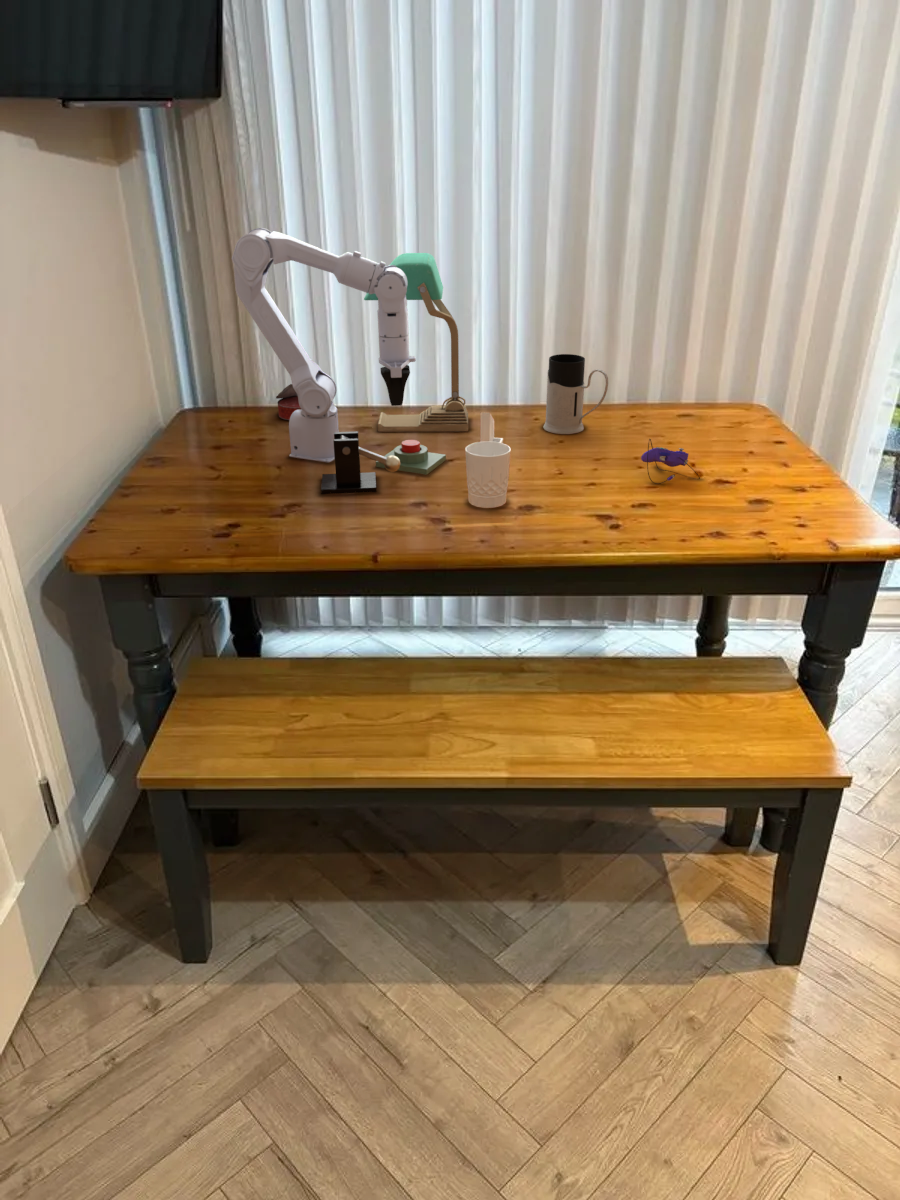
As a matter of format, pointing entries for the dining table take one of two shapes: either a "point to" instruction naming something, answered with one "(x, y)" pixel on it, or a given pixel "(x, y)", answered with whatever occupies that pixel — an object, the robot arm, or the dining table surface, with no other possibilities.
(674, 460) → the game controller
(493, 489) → the white cup
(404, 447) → the button
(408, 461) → the switch box
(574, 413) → the glass holder
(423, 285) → the banker's lamp
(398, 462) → the lever
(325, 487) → the switch bracket
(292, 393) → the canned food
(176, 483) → the dining table surface
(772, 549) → the dining table surface
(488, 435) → the white wedge bracket
